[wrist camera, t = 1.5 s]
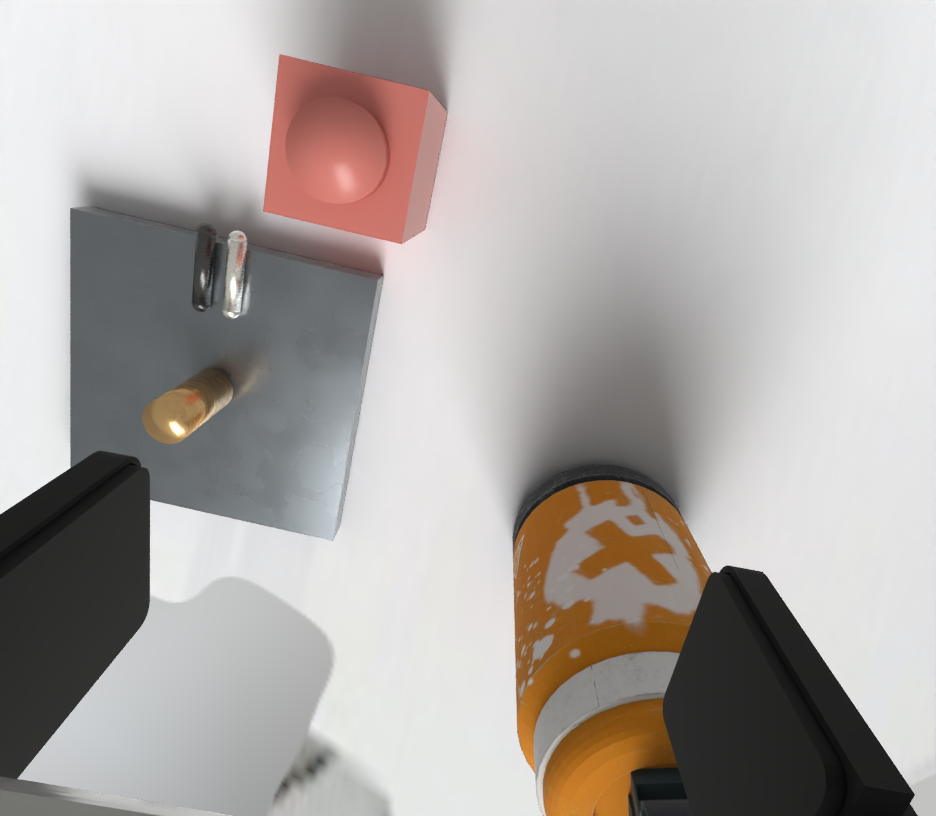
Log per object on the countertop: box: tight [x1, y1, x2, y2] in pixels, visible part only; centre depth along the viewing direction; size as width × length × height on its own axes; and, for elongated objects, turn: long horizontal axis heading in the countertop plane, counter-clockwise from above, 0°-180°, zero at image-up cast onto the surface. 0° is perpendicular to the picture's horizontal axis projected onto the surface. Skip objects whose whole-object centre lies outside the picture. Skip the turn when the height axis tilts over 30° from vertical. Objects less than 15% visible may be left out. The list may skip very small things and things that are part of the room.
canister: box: [513, 465, 712, 816], centre depth 25 cm, size 9×11×20 cm
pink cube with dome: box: [263, 54, 448, 244], centre depth 24 cm, size 5×5×8 cm
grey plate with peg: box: [70, 207, 384, 541], centre depth 29 cm, size 15×14×6 cm
